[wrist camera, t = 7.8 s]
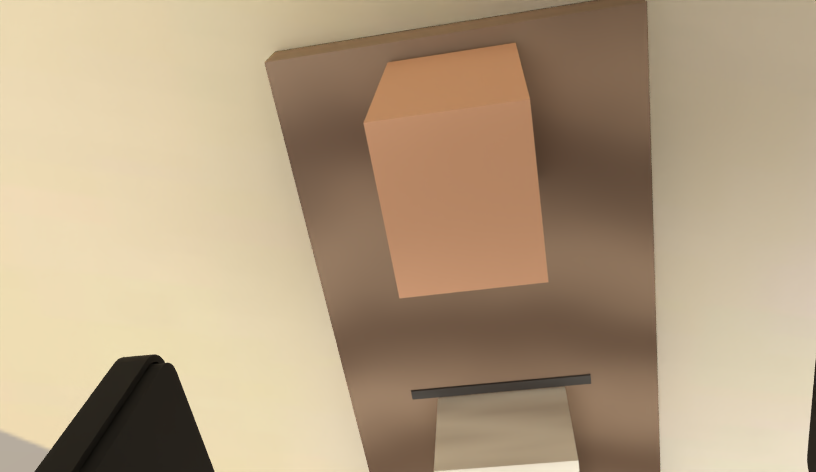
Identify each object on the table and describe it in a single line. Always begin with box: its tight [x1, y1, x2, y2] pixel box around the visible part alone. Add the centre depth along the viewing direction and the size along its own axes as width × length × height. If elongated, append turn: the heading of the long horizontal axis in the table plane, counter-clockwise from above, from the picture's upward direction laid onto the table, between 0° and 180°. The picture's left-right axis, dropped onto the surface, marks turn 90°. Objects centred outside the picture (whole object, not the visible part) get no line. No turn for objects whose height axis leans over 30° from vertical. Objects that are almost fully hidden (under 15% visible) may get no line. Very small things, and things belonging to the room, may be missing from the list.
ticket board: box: [265, 0, 660, 472], centre depth 27 cm, size 24×12×6 cm, turn 10°
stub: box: [364, 43, 549, 298], centre depth 21 cm, size 5×4×6 cm
